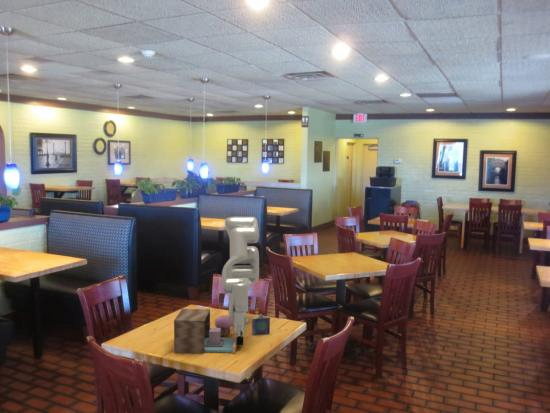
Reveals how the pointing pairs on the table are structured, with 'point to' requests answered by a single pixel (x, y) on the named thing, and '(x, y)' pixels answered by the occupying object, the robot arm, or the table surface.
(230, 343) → the tray
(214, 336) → the block
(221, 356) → the table surface
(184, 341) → the cabinet
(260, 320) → the flask
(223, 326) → the cupcake
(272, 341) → the table surface
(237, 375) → the table surface
